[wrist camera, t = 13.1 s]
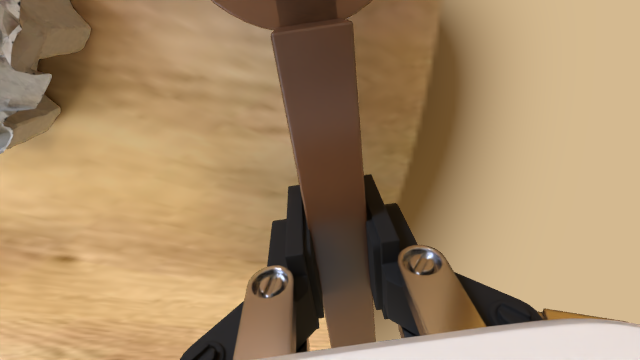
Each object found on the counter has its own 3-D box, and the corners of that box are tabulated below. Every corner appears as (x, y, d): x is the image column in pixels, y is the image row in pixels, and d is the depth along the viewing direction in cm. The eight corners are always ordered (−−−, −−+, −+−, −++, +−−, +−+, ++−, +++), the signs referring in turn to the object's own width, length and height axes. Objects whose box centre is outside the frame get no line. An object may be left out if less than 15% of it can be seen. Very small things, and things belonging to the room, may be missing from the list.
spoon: (408, 306, 16) (430, 368, 14) (288, 323, 16) (286, 389, 14) (416, -346, 6) (511, -625, 3) (106, -294, 6) (-43, -526, 4)
